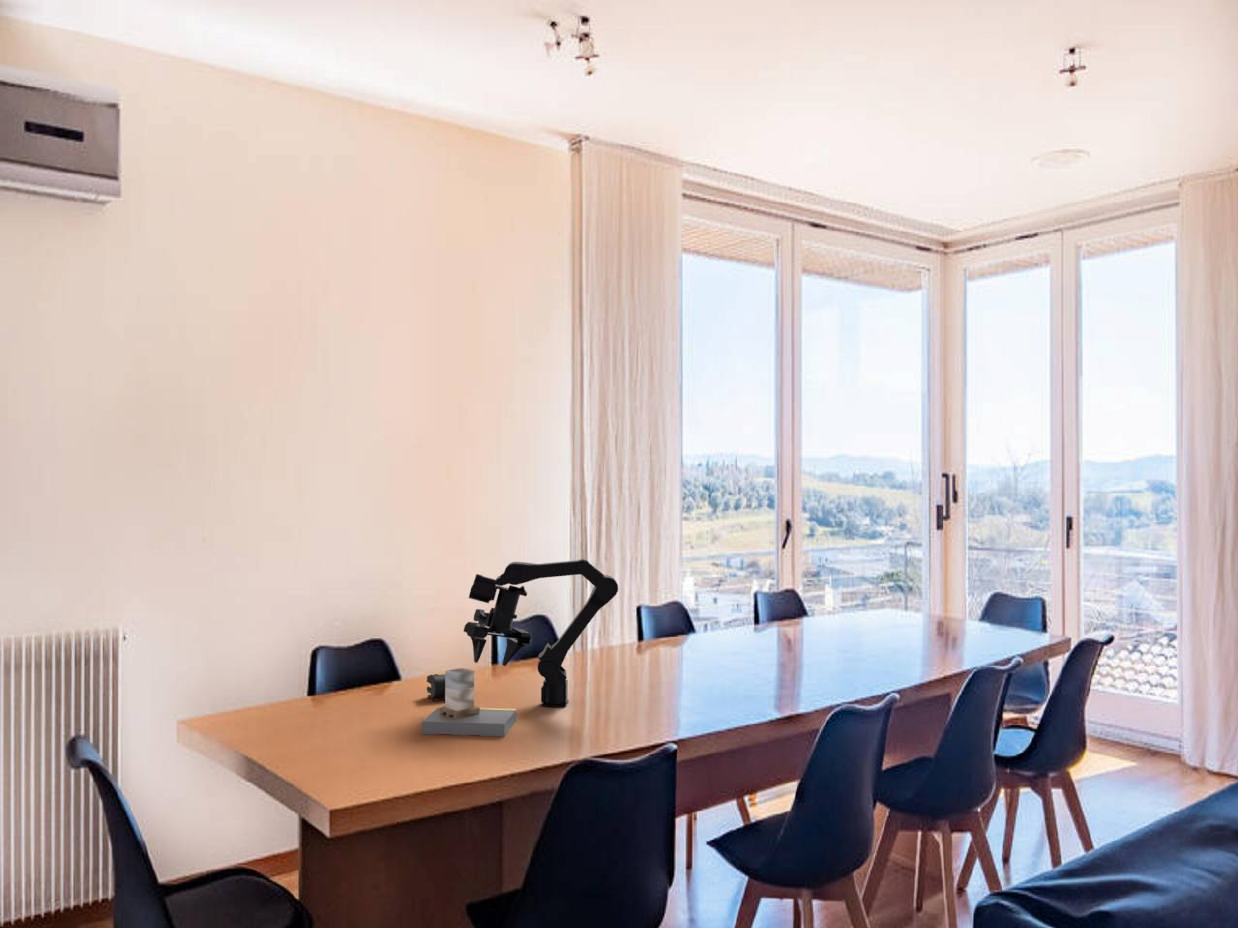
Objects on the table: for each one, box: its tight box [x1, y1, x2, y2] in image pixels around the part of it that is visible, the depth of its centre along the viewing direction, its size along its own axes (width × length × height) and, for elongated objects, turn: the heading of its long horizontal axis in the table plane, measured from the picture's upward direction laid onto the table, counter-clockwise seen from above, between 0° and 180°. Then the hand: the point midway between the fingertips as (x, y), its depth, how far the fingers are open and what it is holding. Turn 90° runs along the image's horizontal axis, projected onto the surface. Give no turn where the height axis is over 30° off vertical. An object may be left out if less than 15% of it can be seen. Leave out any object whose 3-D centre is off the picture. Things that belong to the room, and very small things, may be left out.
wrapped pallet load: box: [438, 667, 481, 719], centre depth 229 cm, size 7×7×10 cm
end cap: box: [426, 673, 445, 701], centre depth 259 cm, size 10×7×7 cm
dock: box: [421, 706, 517, 738], centre depth 228 cm, size 20×14×3 cm
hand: (489, 663), depth 251 cm, fingers open, 9 cm apart
